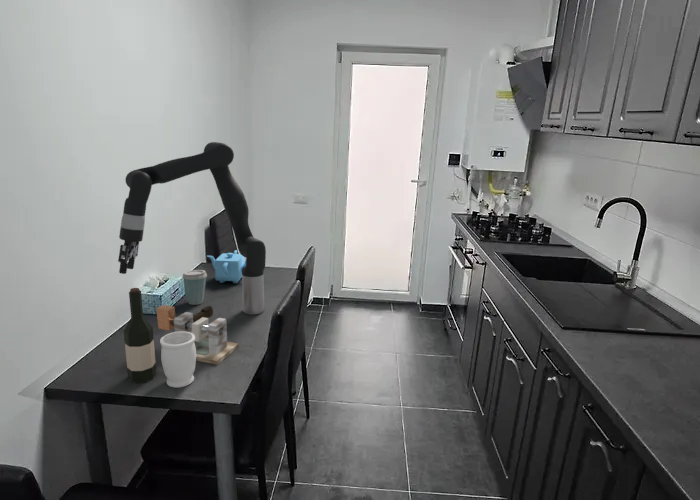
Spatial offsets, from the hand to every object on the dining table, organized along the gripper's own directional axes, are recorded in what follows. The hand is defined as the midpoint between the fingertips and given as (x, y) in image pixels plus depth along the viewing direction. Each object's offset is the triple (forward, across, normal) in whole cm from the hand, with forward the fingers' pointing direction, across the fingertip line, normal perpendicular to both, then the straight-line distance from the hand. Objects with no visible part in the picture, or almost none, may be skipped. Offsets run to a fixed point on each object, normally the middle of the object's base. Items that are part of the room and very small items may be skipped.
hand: (126, 271), depth 165 cm
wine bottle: (+28, -24, -15) cm, 40 cm away
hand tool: (+22, +19, -25) cm, 38 cm away
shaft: (+18, -6, -25) cm, 31 cm away
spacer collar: (+18, -8, -30) cm, 36 cm away
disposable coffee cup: (+20, +41, -21) cm, 50 cm away
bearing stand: (+23, -7, -31) cm, 39 cm away
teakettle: (+15, +73, -33) cm, 82 cm away
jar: (+26, -28, -28) cm, 47 cm away
